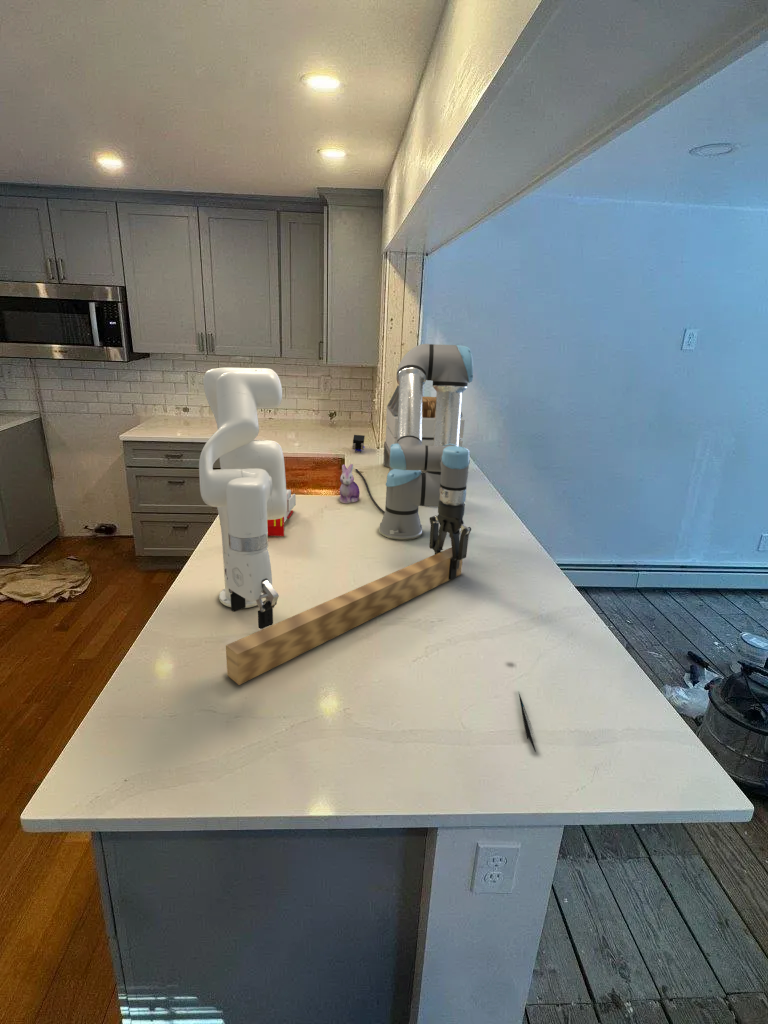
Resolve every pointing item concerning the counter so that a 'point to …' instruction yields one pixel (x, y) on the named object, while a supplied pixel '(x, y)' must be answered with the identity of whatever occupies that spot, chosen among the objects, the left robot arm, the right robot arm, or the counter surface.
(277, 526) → the toy
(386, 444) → the white storage crate
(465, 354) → the right robot arm
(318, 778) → the counter surface
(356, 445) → the figurine character
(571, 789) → the counter surface
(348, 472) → the figurine
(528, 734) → the feather
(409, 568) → the post
